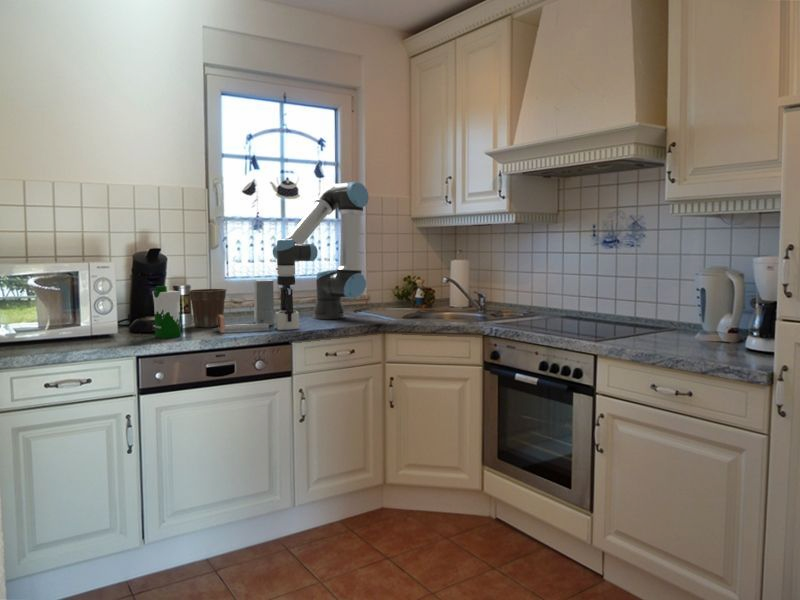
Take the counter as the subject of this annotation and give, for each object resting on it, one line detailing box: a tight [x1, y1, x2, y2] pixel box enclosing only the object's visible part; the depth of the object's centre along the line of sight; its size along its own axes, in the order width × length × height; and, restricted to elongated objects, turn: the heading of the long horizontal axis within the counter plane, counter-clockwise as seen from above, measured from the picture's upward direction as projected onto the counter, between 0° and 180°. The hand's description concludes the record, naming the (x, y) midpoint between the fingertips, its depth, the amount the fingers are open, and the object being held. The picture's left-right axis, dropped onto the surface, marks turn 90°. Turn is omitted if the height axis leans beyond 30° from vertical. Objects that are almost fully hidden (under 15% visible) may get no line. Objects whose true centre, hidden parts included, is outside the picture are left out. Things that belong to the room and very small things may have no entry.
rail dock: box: [217, 314, 272, 335], centre depth 256 cm, size 20×12×6 cm, turn 111°
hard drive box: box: [253, 278, 275, 326], centre depth 277 cm, size 16×8×20 cm, turn 18°
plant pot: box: [188, 288, 228, 328], centre depth 270 cm, size 16×16×16 cm
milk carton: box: [152, 285, 182, 340], centre depth 238 cm, size 9×9×20 cm
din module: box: [274, 309, 300, 331], centre depth 263 cm, size 9×6×8 cm, turn 111°
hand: (287, 327), depth 263 cm, fingers open, 9 cm apart
